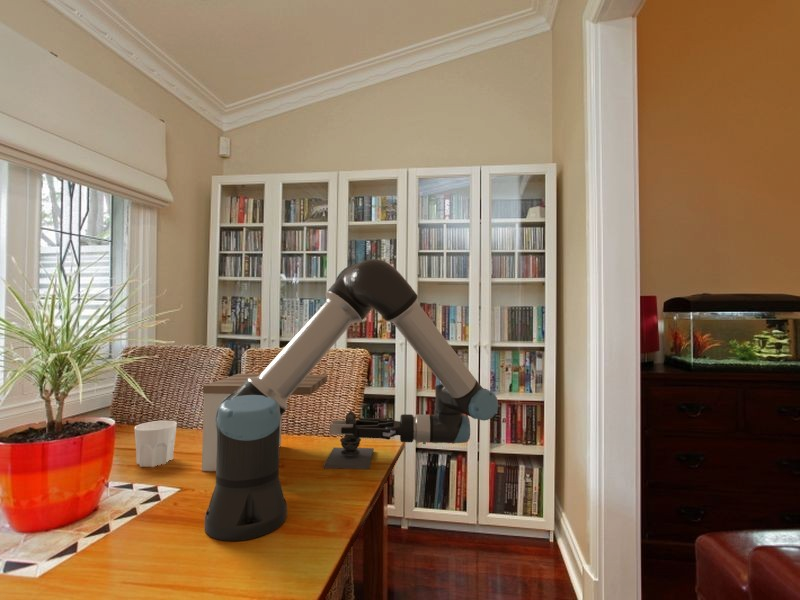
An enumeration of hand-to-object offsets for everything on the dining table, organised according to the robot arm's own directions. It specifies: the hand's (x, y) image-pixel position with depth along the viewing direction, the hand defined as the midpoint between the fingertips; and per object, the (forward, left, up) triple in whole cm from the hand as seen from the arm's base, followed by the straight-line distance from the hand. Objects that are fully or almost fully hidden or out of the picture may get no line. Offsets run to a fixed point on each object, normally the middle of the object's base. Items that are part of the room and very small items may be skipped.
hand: (331, 427), depth 116 cm
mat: (+2, -5, -9) cm, 10 cm away
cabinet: (-6, +17, -9) cm, 20 cm away
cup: (-21, +43, -9) cm, 49 cm away
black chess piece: (+2, -5, -7) cm, 9 cm away
